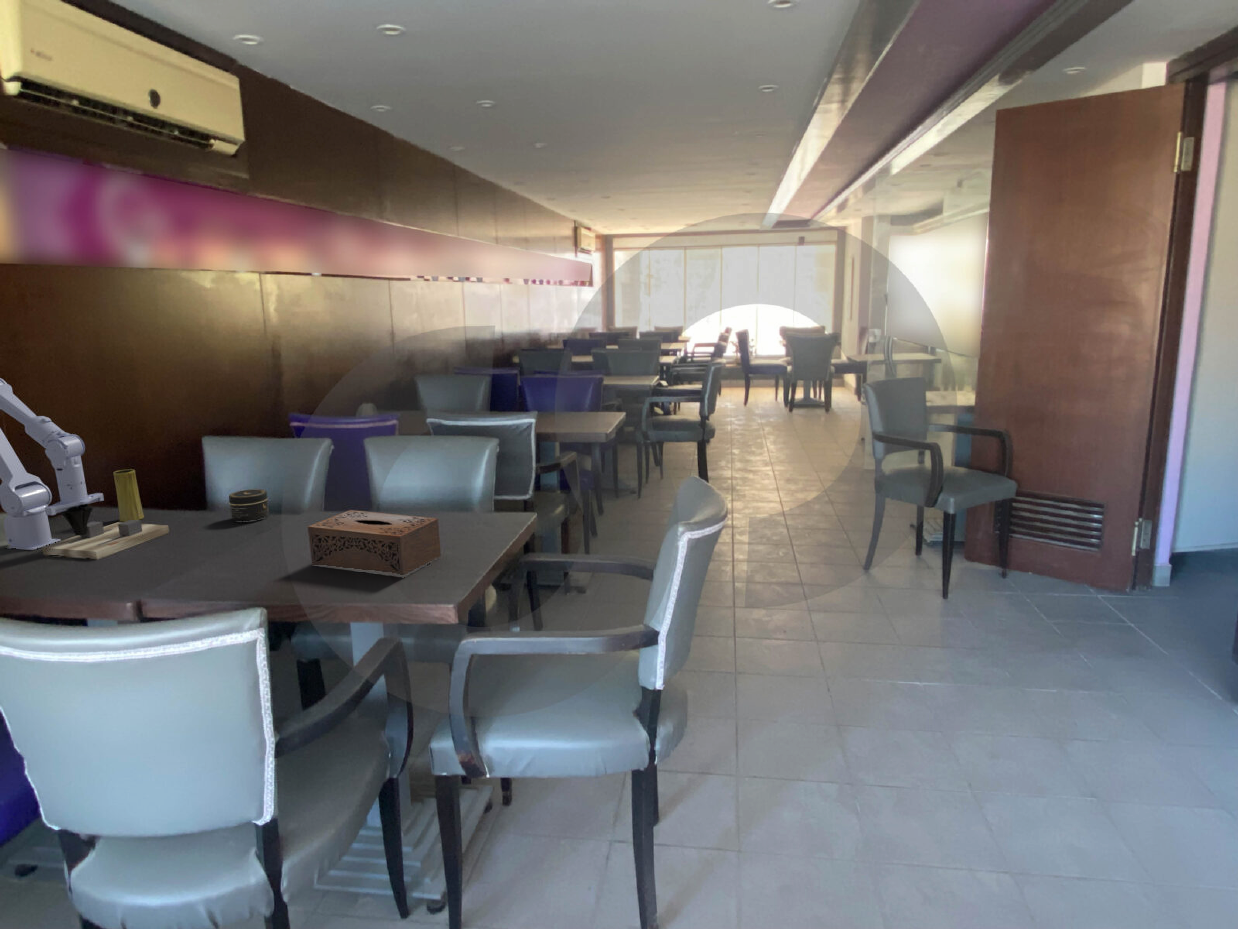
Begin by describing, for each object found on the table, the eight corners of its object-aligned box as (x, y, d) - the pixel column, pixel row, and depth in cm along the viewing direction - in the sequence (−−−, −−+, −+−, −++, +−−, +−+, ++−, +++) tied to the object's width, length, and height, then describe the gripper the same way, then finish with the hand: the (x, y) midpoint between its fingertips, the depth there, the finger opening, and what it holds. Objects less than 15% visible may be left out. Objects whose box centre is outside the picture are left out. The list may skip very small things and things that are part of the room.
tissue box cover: (441, 558, 187) (438, 518, 185) (404, 579, 174) (400, 536, 171) (353, 548, 196) (350, 510, 194) (312, 567, 183) (307, 526, 181)
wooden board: (43, 555, 196) (41, 547, 195) (119, 529, 217) (117, 522, 216) (97, 559, 192) (95, 551, 191) (169, 532, 212) (168, 525, 212)
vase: (132, 522, 223) (124, 473, 220) (114, 521, 224) (106, 473, 221) (149, 516, 229) (141, 469, 226) (131, 515, 230) (123, 468, 227)
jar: (256, 524, 218) (253, 497, 217) (223, 523, 220) (220, 497, 218) (277, 514, 228) (273, 488, 226) (245, 513, 230) (242, 488, 228)
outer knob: (119, 535, 204) (117, 524, 203) (132, 530, 208) (130, 519, 207) (129, 535, 203) (127, 524, 202) (142, 531, 207) (140, 520, 206)
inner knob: (80, 537, 203) (78, 526, 202) (94, 532, 207) (92, 521, 206) (90, 537, 202) (88, 526, 201) (104, 533, 206) (102, 522, 205)
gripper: (56, 491, 190) (66, 544, 193) (109, 477, 204) (117, 527, 207) (34, 489, 192) (44, 542, 195) (87, 476, 206) (96, 525, 209)
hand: (80, 534), depth 201 cm, fingers closed
